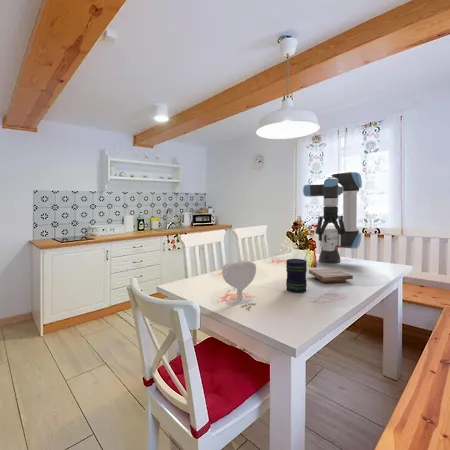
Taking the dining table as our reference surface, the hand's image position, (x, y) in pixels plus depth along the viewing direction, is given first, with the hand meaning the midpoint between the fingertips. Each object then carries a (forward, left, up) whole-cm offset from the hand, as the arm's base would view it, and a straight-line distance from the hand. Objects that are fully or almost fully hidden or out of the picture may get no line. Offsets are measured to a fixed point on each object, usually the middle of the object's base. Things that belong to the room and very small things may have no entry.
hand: (330, 246), depth 152 cm
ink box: (0, 0, -2) cm, 2 cm away
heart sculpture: (+24, -57, -19) cm, 65 cm away
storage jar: (+14, -26, -19) cm, 35 cm away
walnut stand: (0, 0, -19) cm, 19 cm away
